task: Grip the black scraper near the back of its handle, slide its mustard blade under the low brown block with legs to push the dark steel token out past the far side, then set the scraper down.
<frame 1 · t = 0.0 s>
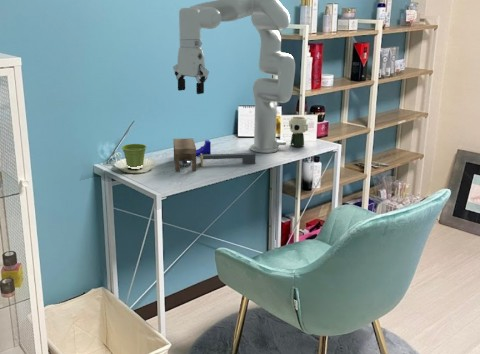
hand: (190, 91, 200), 31 cm above the table, tool pointing down, fingers open, 9 cm apart
scraper: (228, 163, 221), on the table
brown block with legs: (184, 165, 219), on the table
steel token: (184, 165, 219), on the table
plant pot: (135, 168, 214), on the table
blue shoe: (195, 155, 233), on the table
character mug: (297, 146, 249), on the table
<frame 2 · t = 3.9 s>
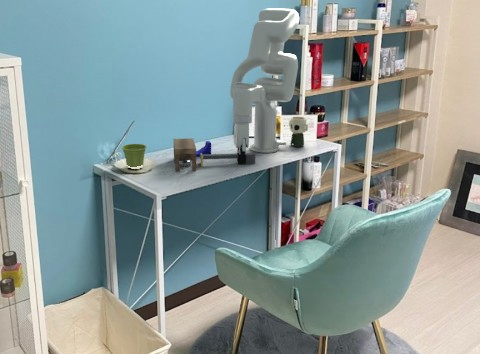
hand: (241, 162, 222), 0 cm above the table, tool pointing down, fingers closed on scraper, 2 cm apart
scraper: (228, 163, 221), on the table, touching gripper
blue shoe: (196, 156, 232), on the table
everything else where it was.
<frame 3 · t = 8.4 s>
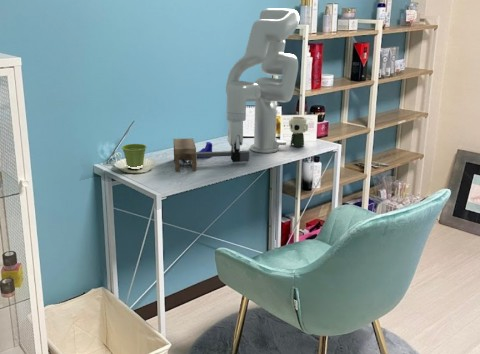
hand: (235, 160, 221), 1 cm above the table, tool pointing down, fingers closed on scraper, 2 cm apart
scraper: (221, 161, 221), point 1 cm above the table, touching gripper
blue shoe: (196, 157, 230), on the table
everything else where it was.
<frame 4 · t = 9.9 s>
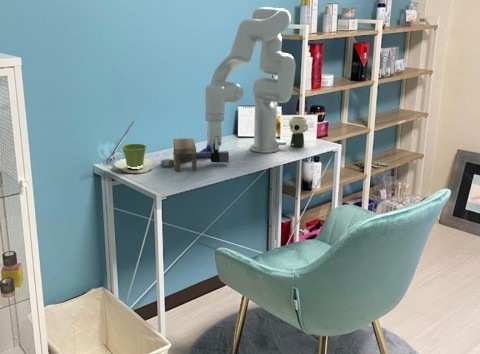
hand: (214, 160, 220), 1 cm above the table, tool pointing down, fingers closed on scraper, 2 cm apart
scraper: (201, 162, 219), point 1 cm above the table, touching gripper, steel token
steel token: (167, 165, 218), on the table, touching scraper
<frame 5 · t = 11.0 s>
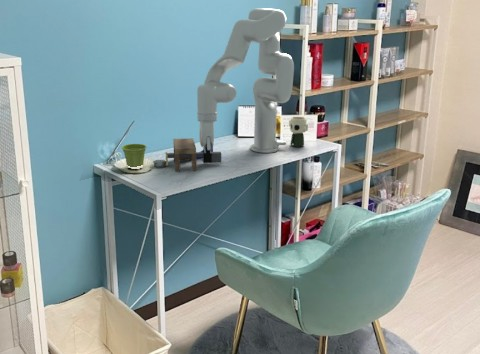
hand: (207, 161, 220), 1 cm above the table, tool pointing down, fingers closed on scraper, 2 cm apart
scraper: (193, 162, 219), point 1 cm above the table, touching gripper
steel token: (159, 166, 217), on the table
blue shoe: (197, 158, 230), on the table, touching brown block with legs
everything else where it was.
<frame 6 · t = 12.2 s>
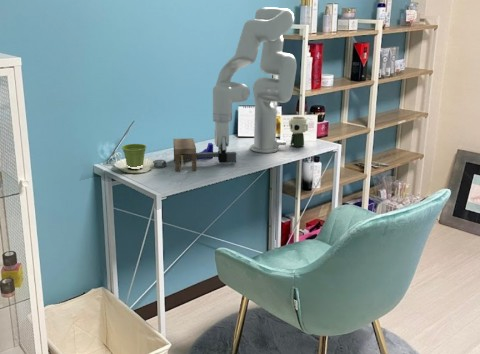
hand: (222, 161, 221), 1 cm above the table, tool pointing down, fingers closed on scraper, 2 cm apart
scraper: (208, 162, 220), point 1 cm above the table, touching gripper
blue shoe: (198, 158, 229), on the table
everything else where it was.
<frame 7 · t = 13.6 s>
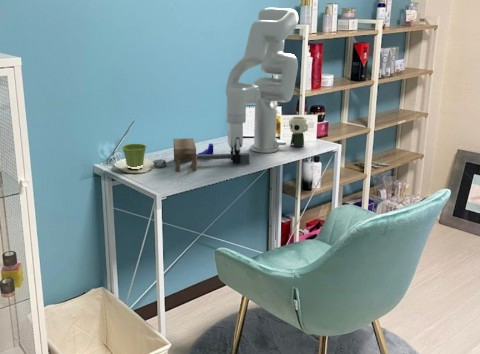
hand: (235, 161, 222), 1 cm above the table, tool pointing down, fingers open, 4 cm apart
scraper: (222, 164, 221), on the table
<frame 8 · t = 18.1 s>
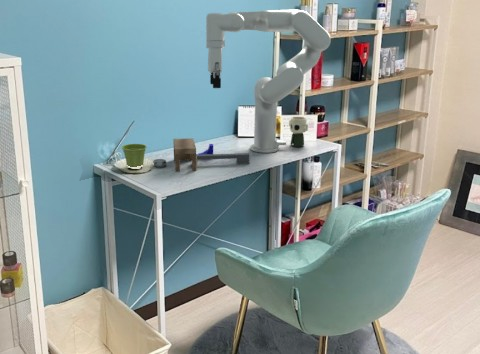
hand: (215, 86, 230), 28 cm above the table, tool pointing down, fingers open, 9 cm apart
nothing on the table moved.
at the end: steel token inside the target area (2.3 cm from its centre), on the table; steel token moved 10.0 cm from its start; the gripper is holding nothing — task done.
